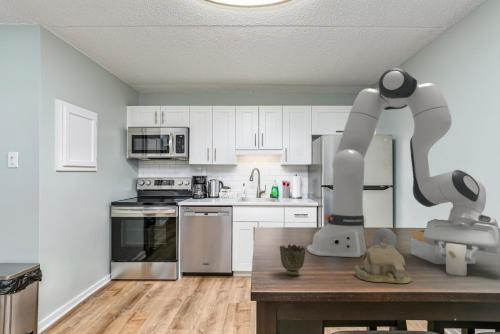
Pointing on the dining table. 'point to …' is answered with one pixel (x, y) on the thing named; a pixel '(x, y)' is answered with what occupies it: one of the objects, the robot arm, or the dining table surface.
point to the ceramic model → (382, 265)
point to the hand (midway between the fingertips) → (455, 257)
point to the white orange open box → (429, 249)
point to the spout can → (456, 259)
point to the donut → (387, 234)
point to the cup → (292, 258)
